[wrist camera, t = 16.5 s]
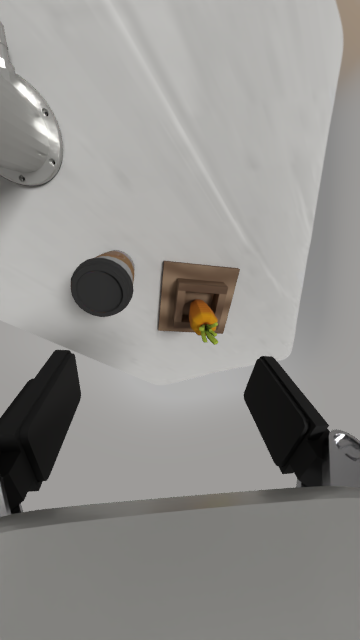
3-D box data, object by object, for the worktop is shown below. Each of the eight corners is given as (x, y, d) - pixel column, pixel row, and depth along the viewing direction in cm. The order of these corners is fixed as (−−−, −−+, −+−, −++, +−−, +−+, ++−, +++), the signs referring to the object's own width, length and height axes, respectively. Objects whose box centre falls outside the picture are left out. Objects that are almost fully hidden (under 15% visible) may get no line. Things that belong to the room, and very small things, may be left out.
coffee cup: (141, 248, 38) (133, 266, 25) (138, 288, 42) (130, 322, 29) (96, 240, 37) (63, 256, 24) (97, 283, 41) (69, 316, 28)
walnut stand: (163, 260, 40) (164, 265, 36) (238, 268, 42) (246, 274, 38) (158, 328, 47) (158, 338, 43) (221, 331, 50) (227, 341, 46)
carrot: (181, 294, 43) (190, 331, 30) (203, 287, 42) (222, 321, 29) (188, 313, 45) (198, 355, 32) (208, 307, 45) (228, 346, 32)
